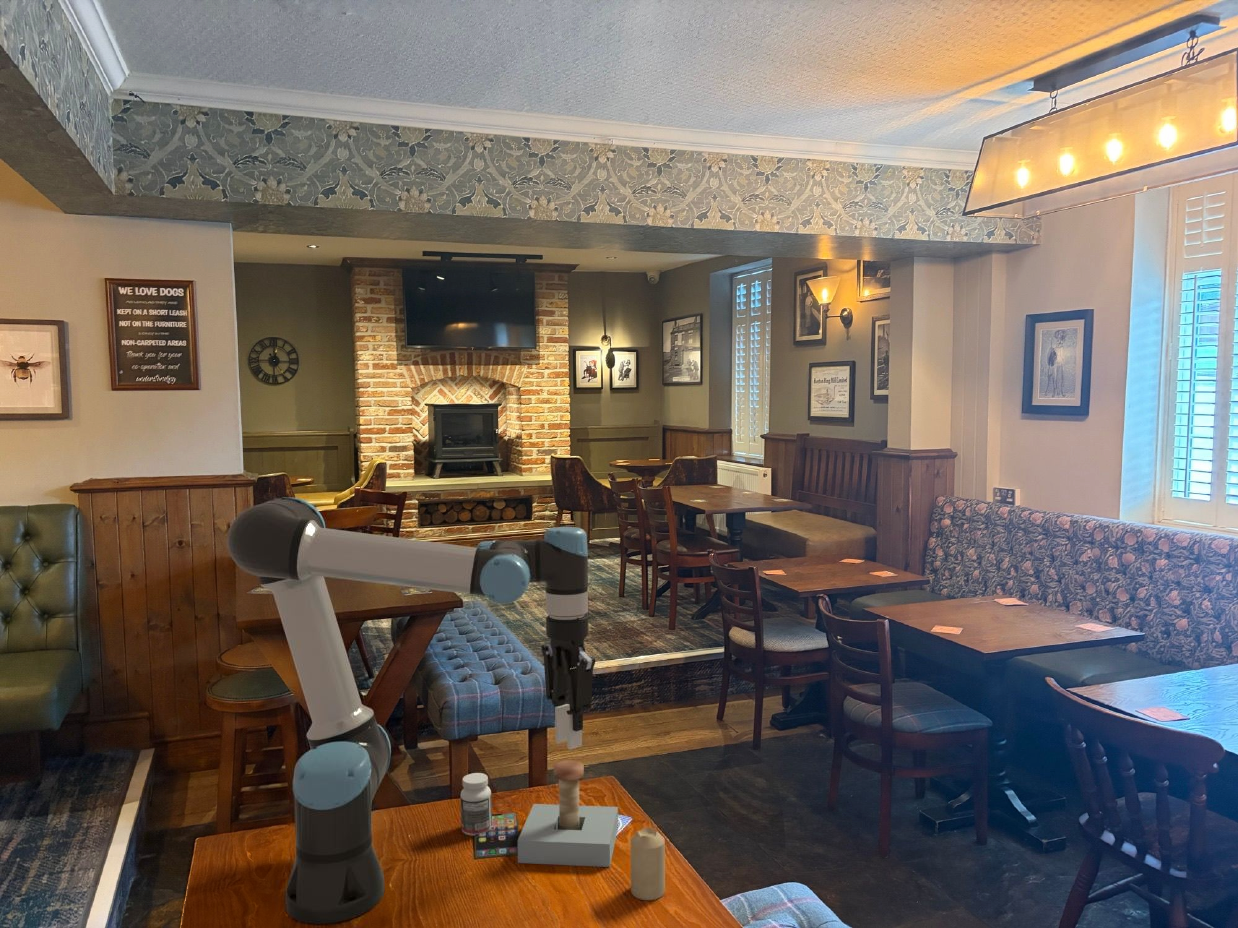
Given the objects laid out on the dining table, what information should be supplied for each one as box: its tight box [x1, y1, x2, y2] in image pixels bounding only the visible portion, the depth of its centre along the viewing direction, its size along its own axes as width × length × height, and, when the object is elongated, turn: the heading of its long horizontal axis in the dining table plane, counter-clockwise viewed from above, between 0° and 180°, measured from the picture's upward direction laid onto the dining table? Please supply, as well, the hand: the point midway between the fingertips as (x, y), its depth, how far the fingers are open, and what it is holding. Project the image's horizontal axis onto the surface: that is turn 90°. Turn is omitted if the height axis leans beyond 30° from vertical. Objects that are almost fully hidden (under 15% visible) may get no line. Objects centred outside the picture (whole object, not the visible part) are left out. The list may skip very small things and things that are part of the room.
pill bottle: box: [459, 772, 493, 837], centre depth 161 cm, size 6×6×10 cm
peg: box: [553, 759, 585, 830], centre depth 155 cm, size 5×5×14 cm
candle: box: [630, 827, 666, 901], centre depth 140 cm, size 6×6×10 cm
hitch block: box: [517, 803, 619, 868], centre depth 155 cm, size 16×14×4 cm
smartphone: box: [474, 812, 520, 860], centre depth 159 cm, size 8×15×1 cm, turn 9°
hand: (568, 743), depth 154 cm, fingers open, 3 cm apart
